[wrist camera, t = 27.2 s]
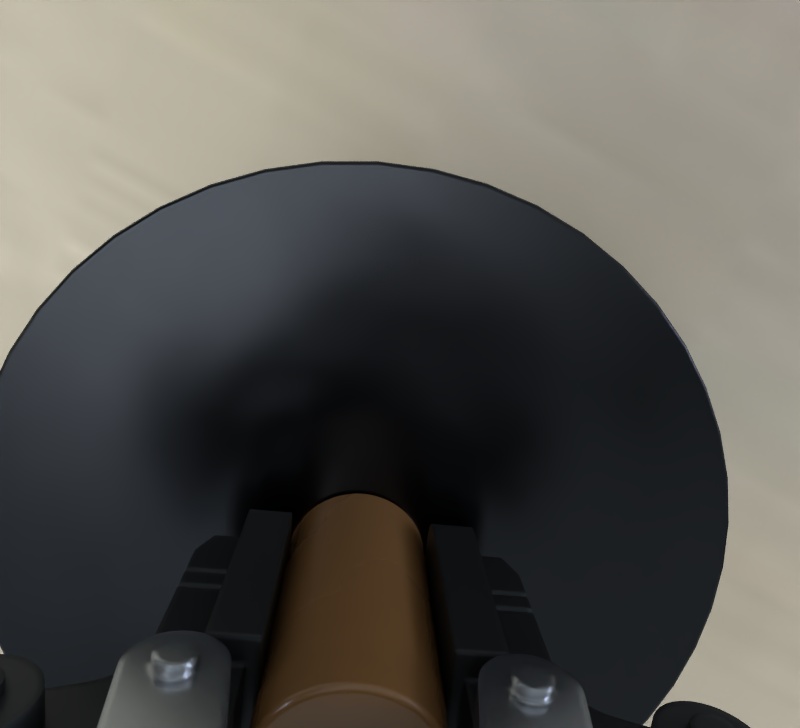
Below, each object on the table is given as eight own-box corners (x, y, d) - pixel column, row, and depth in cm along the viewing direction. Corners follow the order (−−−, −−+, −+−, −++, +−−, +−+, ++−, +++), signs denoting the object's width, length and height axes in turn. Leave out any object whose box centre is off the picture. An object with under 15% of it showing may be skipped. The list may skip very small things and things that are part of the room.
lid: (309, -19, 12) (243, -225, 6) (843, 485, 14) (1180, 705, 8) (-143, 564, 14) (-527, 852, 8) (392, 907, 16) (404, 1317, 10)
